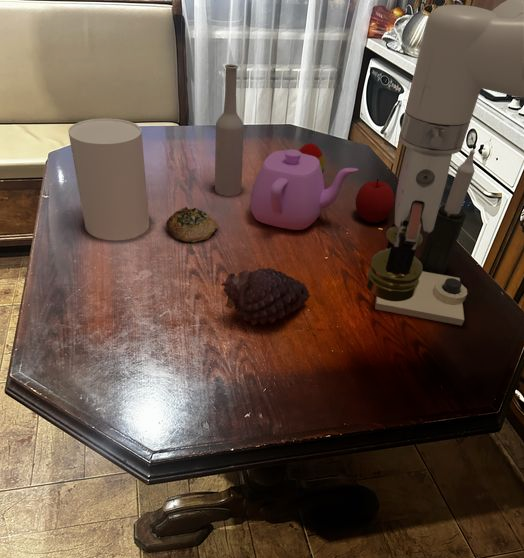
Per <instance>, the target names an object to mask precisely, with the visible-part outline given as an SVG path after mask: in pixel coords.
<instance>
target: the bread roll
mask: <svg viewBox="0 0 524 558" xmlns="http://www.w3.org/2000/svg"><path fill="white" fill-rule="evenodd" d="M165 226H166V229H167V232H168V233H169V234H170V235H171V236H172V237H173V236H174V238H175V239H177V240H179V241H182V242H185V243H187V242H188V243H196V242H200V241H204V240H209V239H210V237H211V236H212V234H214V232H215V231H216V230H217V229H218V227H219V226H218V224H217V223H216V220H215V219H213V218H212V217H211V216H210V215H208V214H207V212H205V211H203V210H201V209H199V208H197V207H193V208H188V206H185V207H183V208H181V209H178V210H177V211H175V212H174V213H173V214H172V215H170V216H169V217H168V219H167V220H166V222H165Z"/></svg>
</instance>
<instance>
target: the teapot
mask: <svg viewBox="0 0 524 558" xmlns="http://www.w3.org/2000/svg"><path fill="white" fill-rule="evenodd" d="M263 161H264V162H262V164H261V167H260V168H259V171H258V172H257V175H256V177H255V179H254V183H253V184H252V188H251V194H250V200H249V208H250V211H251V213H252V215H253V217H254V219H255V220H256V221H257V222H260V223H262V224H265V225H269V226H273V227H275V228H276V227H277V228H282V229H287V230H295V231H298V230H299V231H300V230H304V229H307V228H308V227H310V226H311V225H312V224H313V223H314V222H315V221H316V220H317V219H318V218H319V217H320V215H321V214H322V212H323V209H326V208H328V207H329V206H331V205H332V204H333V203H334V202H335V201H336V200H337V198H338V196H339V194H340V191H341V188H342V186H343V183H344V182H345V180H346V179H347V177H349V176H350V175H351V174H353V173H355V172H357V171H359V168H356V167H345V168H341V169H340V170H339V171H338V172H337V174H336V175H335V177H334V179H333V182H332V184H331V185H330V186H329V187H328V188H325V181H324V173H323V174H322V170H321V166H320V162H319V160H318V159H317V158H316V157H314V156H311V155H307V154H302V153H301V152H300V151H299V150H298V149H293V148H292V149H286V150H283V149H282V150H276V151H274V152H272V153H270V154H269V155H268V156H267V157H266V158H265V159H264V160H263Z"/></svg>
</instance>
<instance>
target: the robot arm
mask: <svg viewBox="0 0 524 558" xmlns="http://www.w3.org/2000/svg"><path fill="white" fill-rule="evenodd" d="M413 72H414V73H413V77H412V80H411V84H410V89H409V92H408V98H407V102H406V107H405V110H404V114H403V119H402V122H401V127H400V131H399V136H398V141H399V143H401V145H403V147H405V152H404V154H403V160H402V164H401V168H400V172H399V176H398V182H397V187H396V194H395V200H394V223H392V225H391V228H392V227H395V226H396V227H397V228H398V230H397V234H396V239H395V243H394V244H391V243H390V242H389V241H388V240H387V243H386V249H387V248H390V247H391V250H390V253H389V257H388V261H387V265H386V271H388V272H393V273H400V274H406V275H407V274H409V272H410V268H411V265H412V262H413V258H414V255H415V254H416V251H417V247H416V245H417V241H418V237H419V233H421V229H422V230H423V232H426V233H427V234H429V233H430V232H432V231H433V228H434V225H435V221H436V217H437V214H438V210H439V209H440V207H441V202H442V199H443V195H444V192H445V187H446V184H447V181H448V176H449V171H450V167H451V163H452V156H453V155H455V154H457V153H460V152H461V151H462V149H463V145H464V142H465V139H466V136H467V133H468V130H469V127H470V123H471V121H472V118H473V114H474V112H475V108H476V105H477V102H478V98H479V96H480V92H481V90H486V91H492V92H496V93H499V94H503V95H508V96H511V97H515V98H523V99H524V0H505V1H503V2H502V3H500V4H498V5H497V6H496V7H495V8H493V9H492V10H490V9H486V8H484V7H483V8H482V7H479V6H474V5H473V6H472V5H467V4H466V5H465V4H444V5H440V6H438V7H435V8H434V9H433V10H432V11H431V12H430V13H429V16H428V17H427V19H426V22H425V26H424V29H423V33H422V37H421V42H420V47H419V50H418V54H417V59H416V63H415V68H414V71H413ZM402 230H405V231H406V234H405V236H404V235H402V237H401V234H402ZM415 256H416V255H415Z"/></svg>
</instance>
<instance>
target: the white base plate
mask: <svg viewBox="0 0 524 558" xmlns="http://www.w3.org/2000/svg"><path fill="white" fill-rule="evenodd" d="M448 278H454V279H457V280H459V281H460V282H461V278H460V277H457V276H450V275H445V274H443V275H440V274H435V273H429V272H423V271H422V274H421V276H420V277H419V284H418V285H417V288H416V291H415V294H414V295H413V297H411V298H410V299H408V300H405V301H388V300H384V299H381V298H379V297H377V296H375V303H374V310H378V311H383V312H389V313H392V314H399V315H404V316H410V317H414V318H420V319H426V320H430V321H435V322H441V323H447V324H451V325H457V326H463V325H464V322H465V313H464V305H463V303H464V302H465V300H466V299H467V295H468V289H467V287H465V286H464V285H463V284H462V286H461V288H460V290H459V293H458V294H450V293H447V292H445V291H444V290H443V286H444V283H445V281H446V279H448Z"/></svg>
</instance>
